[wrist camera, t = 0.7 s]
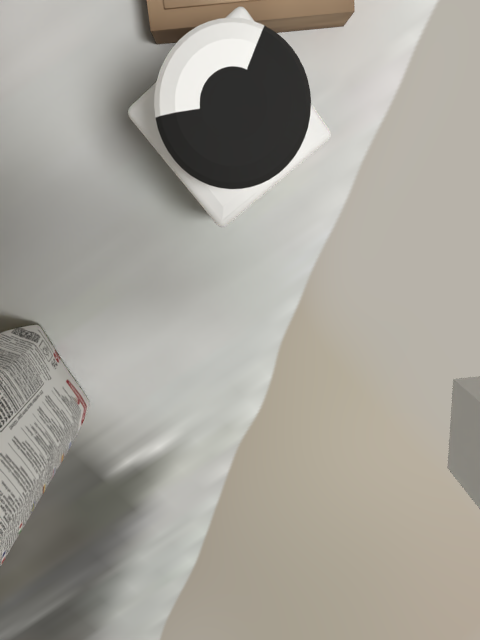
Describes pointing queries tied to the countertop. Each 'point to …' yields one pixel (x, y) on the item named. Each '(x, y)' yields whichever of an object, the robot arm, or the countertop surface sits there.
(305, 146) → the container
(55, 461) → the juice carton
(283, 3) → the stand
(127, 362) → the countertop surface
